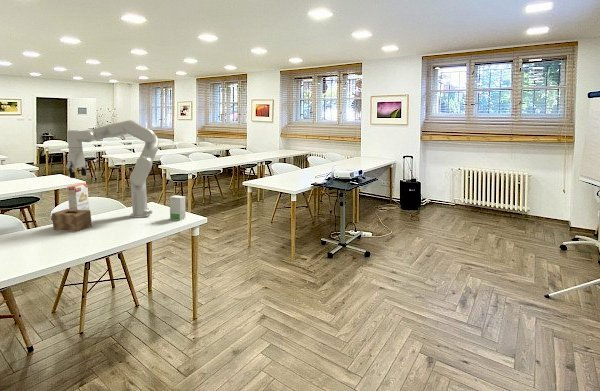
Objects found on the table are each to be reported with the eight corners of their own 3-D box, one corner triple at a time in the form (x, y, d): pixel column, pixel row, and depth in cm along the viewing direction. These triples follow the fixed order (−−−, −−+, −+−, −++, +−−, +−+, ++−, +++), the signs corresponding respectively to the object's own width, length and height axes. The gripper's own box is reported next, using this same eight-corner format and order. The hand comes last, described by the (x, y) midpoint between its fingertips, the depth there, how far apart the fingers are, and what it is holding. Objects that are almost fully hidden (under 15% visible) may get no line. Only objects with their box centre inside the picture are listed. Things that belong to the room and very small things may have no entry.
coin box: (91, 226, 231) (90, 210, 229) (77, 231, 220) (75, 215, 218) (68, 224, 234) (67, 208, 232) (53, 229, 222) (51, 213, 220)
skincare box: (169, 219, 250) (168, 196, 246) (175, 217, 256) (174, 194, 253) (180, 220, 247) (179, 197, 244) (186, 218, 253) (185, 195, 250)
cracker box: (78, 217, 250) (75, 186, 245) (69, 217, 250) (66, 186, 245) (90, 212, 263) (87, 183, 259) (82, 212, 263) (79, 182, 259)
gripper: (80, 148, 245) (83, 174, 248) (59, 151, 228) (62, 178, 232) (90, 149, 244) (93, 175, 247) (70, 151, 227) (73, 179, 231)
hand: (78, 176), depth 239 cm, fingers open, 9 cm apart
